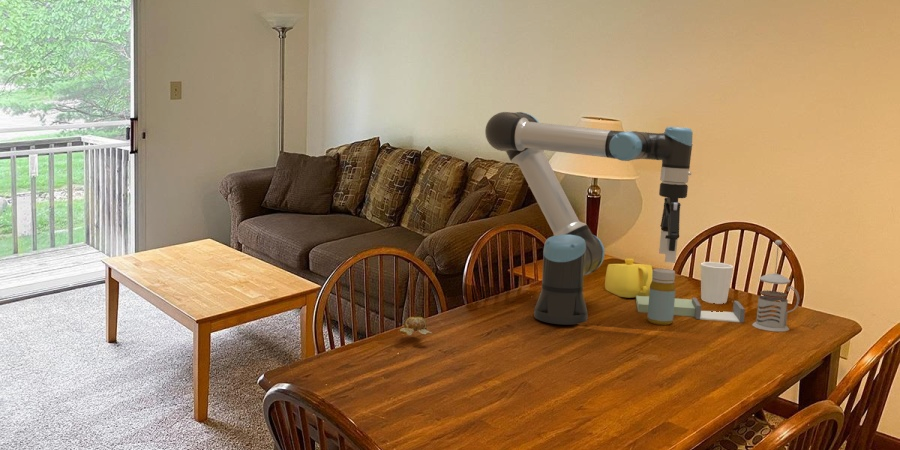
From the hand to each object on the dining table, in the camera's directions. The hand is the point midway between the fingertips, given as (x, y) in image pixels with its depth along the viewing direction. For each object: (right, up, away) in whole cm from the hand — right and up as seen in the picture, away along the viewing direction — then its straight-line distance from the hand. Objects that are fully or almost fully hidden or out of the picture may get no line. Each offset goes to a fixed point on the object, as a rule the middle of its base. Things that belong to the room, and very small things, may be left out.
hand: (666, 257), depth 223 cm
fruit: (-69, -21, -22) cm, 75 cm away
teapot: (-4, -14, +32) cm, 35 cm away
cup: (+22, -16, +27) cm, 39 cm away
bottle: (-1, -19, +2) cm, 19 cm away
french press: (+31, -20, +1) cm, 37 cm away
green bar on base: (+10, -17, +15) cm, 25 cm away
